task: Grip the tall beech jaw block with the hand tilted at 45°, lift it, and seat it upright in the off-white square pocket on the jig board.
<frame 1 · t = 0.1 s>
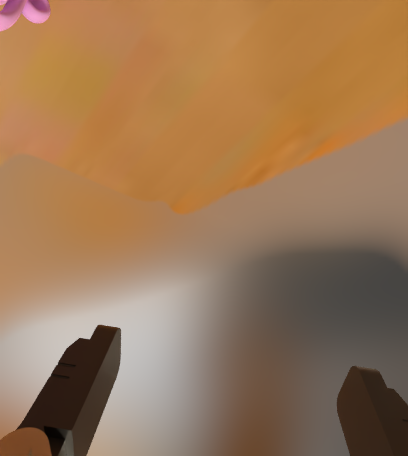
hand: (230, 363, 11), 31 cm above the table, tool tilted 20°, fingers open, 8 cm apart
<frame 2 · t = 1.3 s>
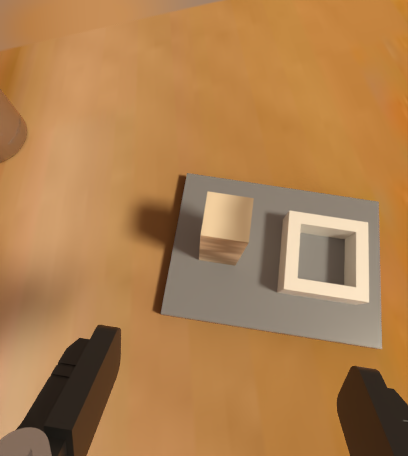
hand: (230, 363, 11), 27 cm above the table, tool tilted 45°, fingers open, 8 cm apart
jig board: (273, 257, 41), on the table
jaw block: (219, 245, 40), point 1 cm above the table, touching jig board
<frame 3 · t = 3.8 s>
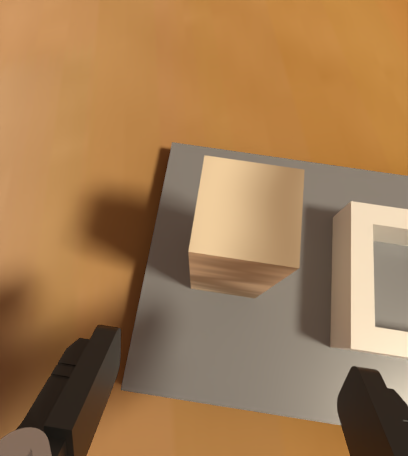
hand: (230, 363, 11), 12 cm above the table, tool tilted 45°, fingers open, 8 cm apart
jig board: (318, 280, 24), on the table
jaw block: (226, 262, 23), point 1 cm above the table, touching jig board
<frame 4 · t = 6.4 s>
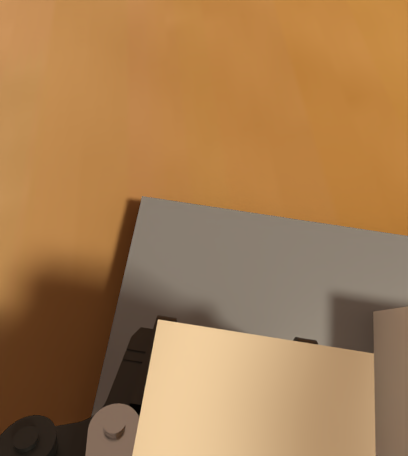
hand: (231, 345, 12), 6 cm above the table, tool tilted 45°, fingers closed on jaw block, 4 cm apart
jig board: (351, 404, 17), on the table
jaw block: (217, 386, 15), point 2 cm above the table, touching gripper, jig board
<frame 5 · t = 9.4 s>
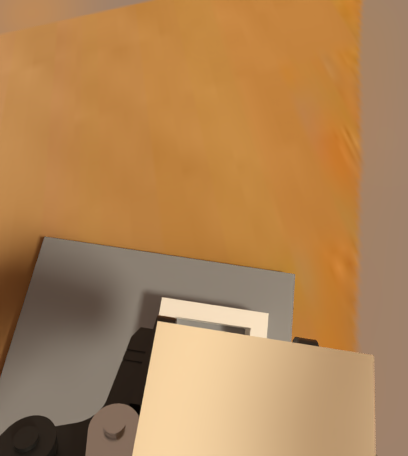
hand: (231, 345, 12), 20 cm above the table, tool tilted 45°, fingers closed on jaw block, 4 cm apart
jig board: (153, 351, 31), on the table
jaw block: (217, 387, 15), point 16 cm above the table, touching gripper
when the fingers open (7 cm above the table, at t = 12.9 s): jaw block drops 1 cm, resting on jig board.
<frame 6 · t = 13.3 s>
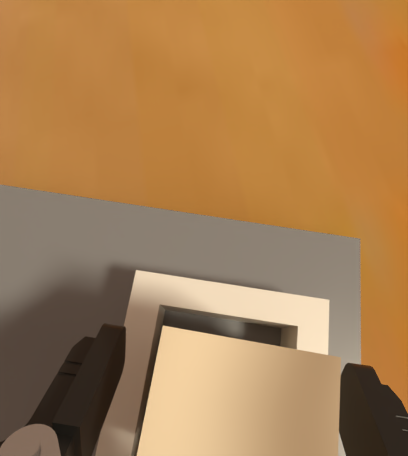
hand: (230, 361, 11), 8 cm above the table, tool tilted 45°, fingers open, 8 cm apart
jig board: (124, 365, 18), on the table
jaw block: (213, 384, 17), point 1 cm above the table, touching jig board
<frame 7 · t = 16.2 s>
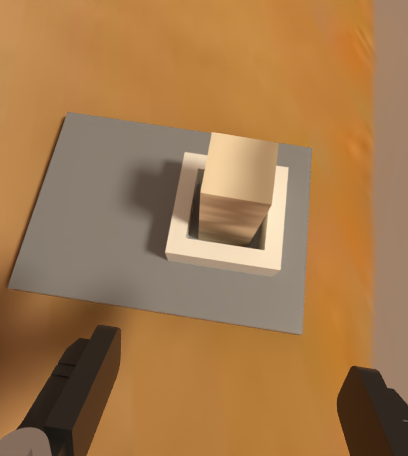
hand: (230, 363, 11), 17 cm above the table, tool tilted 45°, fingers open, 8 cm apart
jig board: (173, 217, 32), on the table
jaw block: (225, 220, 30), point 1 cm above the table, touching jig board
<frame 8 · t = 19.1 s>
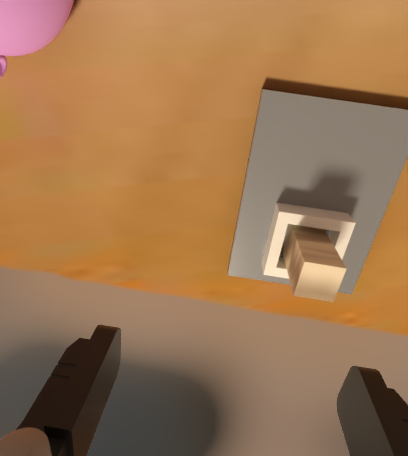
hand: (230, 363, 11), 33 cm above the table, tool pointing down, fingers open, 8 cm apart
jig board: (310, 200, 43), on the table
jaw block: (302, 238, 44), point 1 cm above the table, touching jig board
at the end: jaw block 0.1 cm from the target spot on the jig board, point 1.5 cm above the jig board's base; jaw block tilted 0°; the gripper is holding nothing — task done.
